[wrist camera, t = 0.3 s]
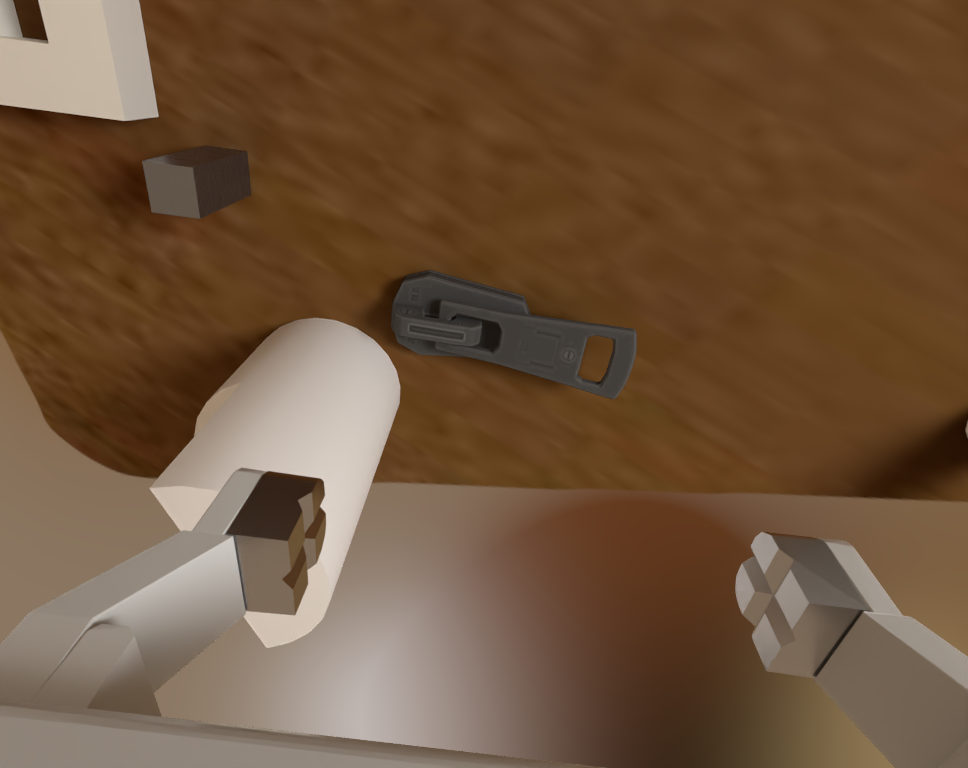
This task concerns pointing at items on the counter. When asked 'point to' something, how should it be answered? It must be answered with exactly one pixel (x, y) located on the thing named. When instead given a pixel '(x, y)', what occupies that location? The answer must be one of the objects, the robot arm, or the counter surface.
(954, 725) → the robot arm
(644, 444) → the counter surface
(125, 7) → the well block
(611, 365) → the zipper pull
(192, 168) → the metal bar
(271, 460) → the cylinder
